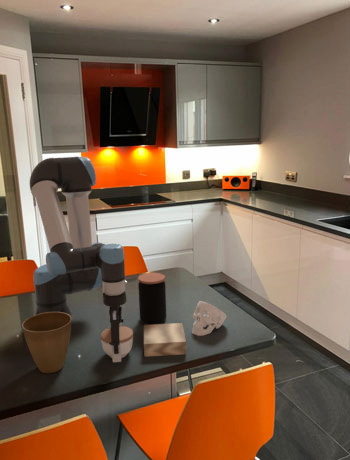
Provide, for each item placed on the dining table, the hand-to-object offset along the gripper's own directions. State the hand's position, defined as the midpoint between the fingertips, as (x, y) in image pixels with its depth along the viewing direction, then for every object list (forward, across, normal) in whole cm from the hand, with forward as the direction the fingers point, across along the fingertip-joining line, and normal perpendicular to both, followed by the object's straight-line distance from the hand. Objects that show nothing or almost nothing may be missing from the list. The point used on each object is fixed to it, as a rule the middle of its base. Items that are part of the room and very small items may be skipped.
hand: (117, 350), depth 136 cm
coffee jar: (+1, +25, -13) cm, 28 cm away
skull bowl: (+2, +15, -33) cm, 36 cm away
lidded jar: (+2, 0, 0) cm, 2 cm away
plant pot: (+1, -5, +21) cm, 22 cm away
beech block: (+2, +4, -16) cm, 17 cm away
